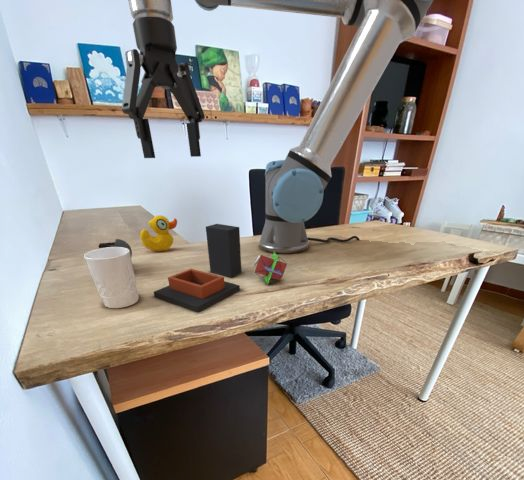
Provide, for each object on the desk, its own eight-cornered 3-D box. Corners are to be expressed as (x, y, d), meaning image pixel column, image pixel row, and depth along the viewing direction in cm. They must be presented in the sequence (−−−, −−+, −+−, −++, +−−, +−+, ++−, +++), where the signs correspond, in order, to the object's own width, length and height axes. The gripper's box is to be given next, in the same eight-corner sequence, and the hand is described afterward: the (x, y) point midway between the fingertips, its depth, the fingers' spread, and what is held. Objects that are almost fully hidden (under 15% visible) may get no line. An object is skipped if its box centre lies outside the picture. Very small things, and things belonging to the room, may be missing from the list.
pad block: (220, 268, 78) (216, 223, 71) (241, 273, 74) (239, 227, 68) (210, 272, 75) (205, 226, 69) (231, 277, 71) (228, 230, 65)
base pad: (198, 278, 71) (196, 263, 69) (240, 290, 65) (239, 274, 63) (154, 296, 62) (150, 280, 60) (198, 312, 56) (195, 294, 54)
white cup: (100, 313, 56) (82, 261, 51) (101, 297, 62) (84, 249, 57) (143, 305, 59) (130, 255, 53) (140, 291, 65) (128, 245, 59)
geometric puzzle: (288, 266, 72) (269, 240, 67) (297, 275, 66) (277, 248, 62) (265, 284, 73) (245, 260, 69) (272, 295, 68) (251, 270, 63)
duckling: (180, 246, 95) (175, 212, 89) (182, 250, 91) (177, 216, 85) (143, 249, 92) (135, 215, 86) (144, 254, 88) (135, 218, 82)
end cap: (134, 275, 73) (126, 247, 69) (103, 278, 71) (94, 250, 68) (135, 263, 81) (128, 237, 77) (107, 266, 79) (99, 240, 75)
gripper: (188, 41, 65) (201, 156, 77) (76, 5, 48) (115, 159, 60) (213, 34, 61) (222, 155, 73) (102, -8, 45) (138, 158, 56)
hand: (174, 157), depth 67 cm, fingers open, 13 cm apart
